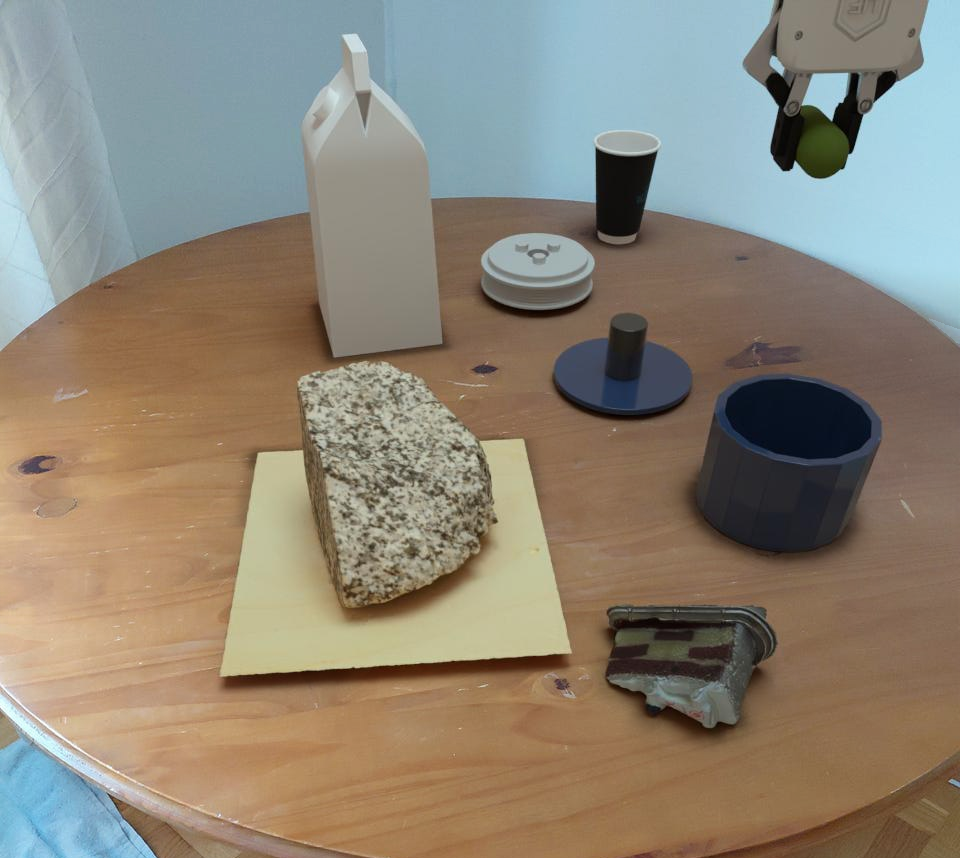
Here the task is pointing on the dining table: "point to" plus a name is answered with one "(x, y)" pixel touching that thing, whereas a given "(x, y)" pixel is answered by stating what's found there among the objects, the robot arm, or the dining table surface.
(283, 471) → the rock
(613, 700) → the dining table surface
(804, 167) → the green rounded cylinder
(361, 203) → the milk
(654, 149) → the dixie cup
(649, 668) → the chocolate cake
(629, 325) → the pot lid
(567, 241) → the lid
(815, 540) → the pot
